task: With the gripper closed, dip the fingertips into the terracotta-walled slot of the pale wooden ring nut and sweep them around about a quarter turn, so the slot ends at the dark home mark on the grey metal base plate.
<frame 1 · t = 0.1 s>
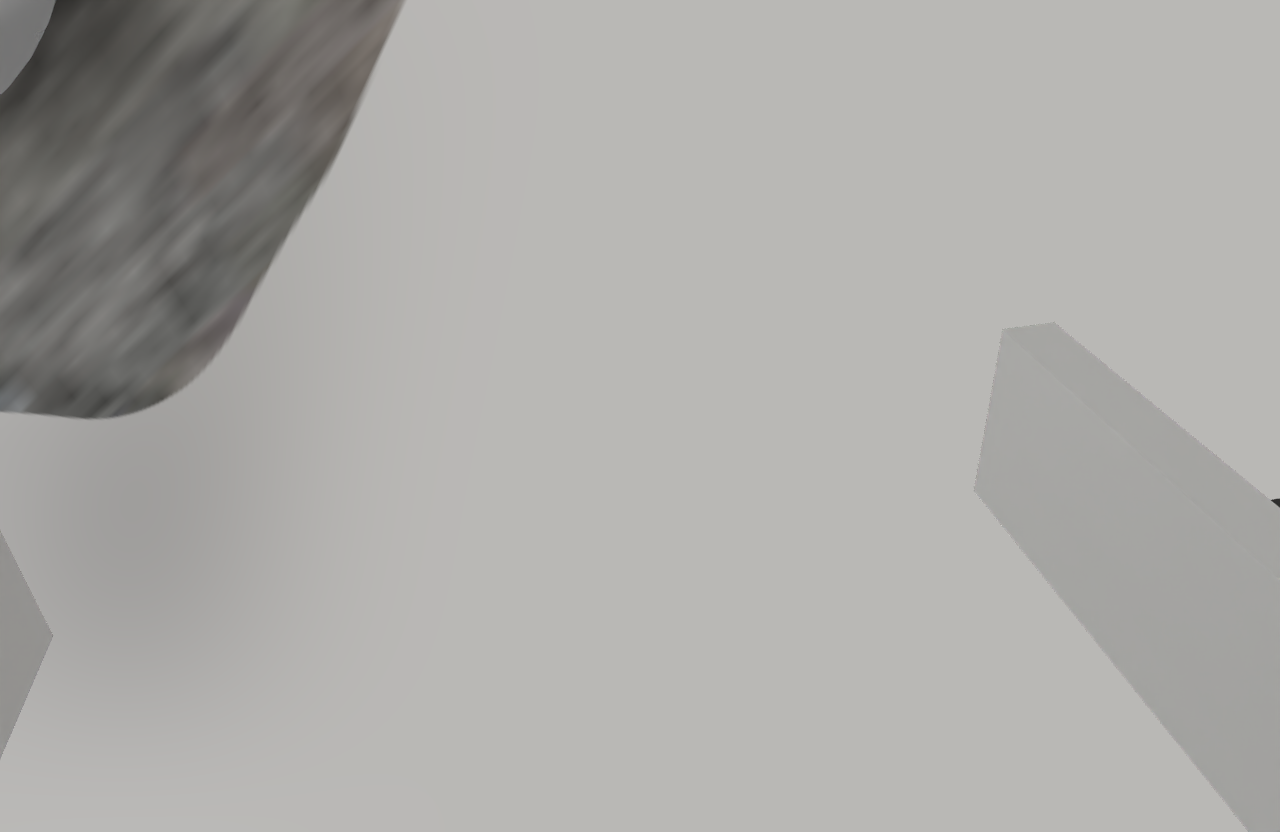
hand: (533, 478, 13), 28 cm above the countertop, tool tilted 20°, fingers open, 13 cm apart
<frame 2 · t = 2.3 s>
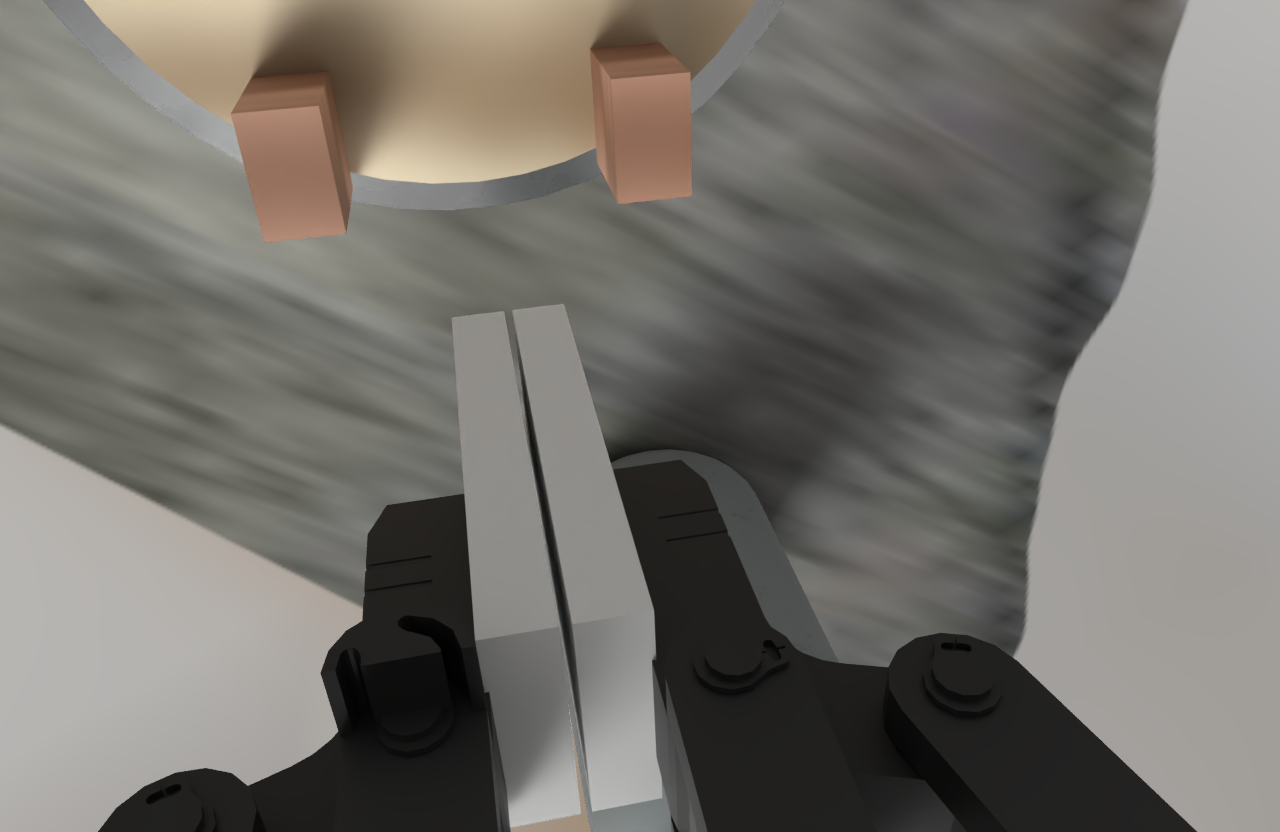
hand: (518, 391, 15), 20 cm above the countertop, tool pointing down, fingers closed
water bottle: (650, 533, 44), on the countertop
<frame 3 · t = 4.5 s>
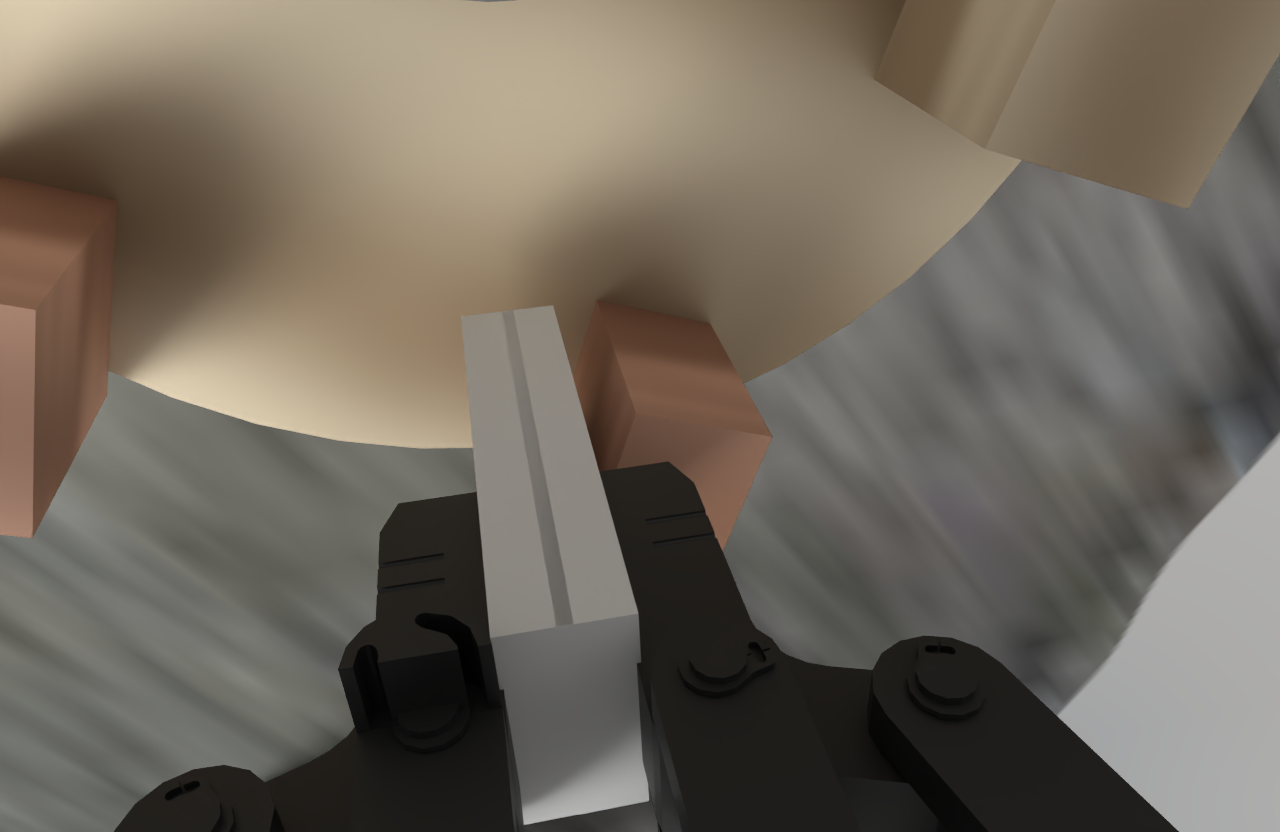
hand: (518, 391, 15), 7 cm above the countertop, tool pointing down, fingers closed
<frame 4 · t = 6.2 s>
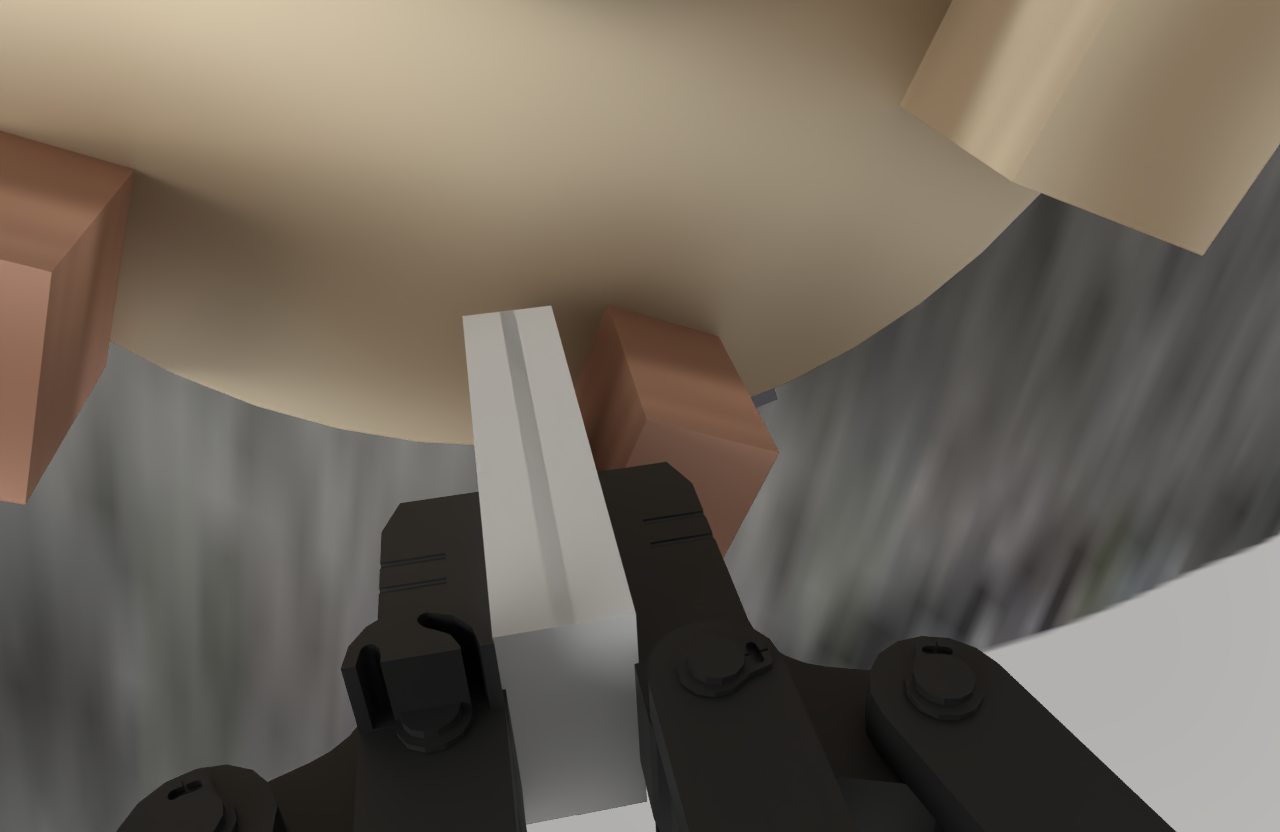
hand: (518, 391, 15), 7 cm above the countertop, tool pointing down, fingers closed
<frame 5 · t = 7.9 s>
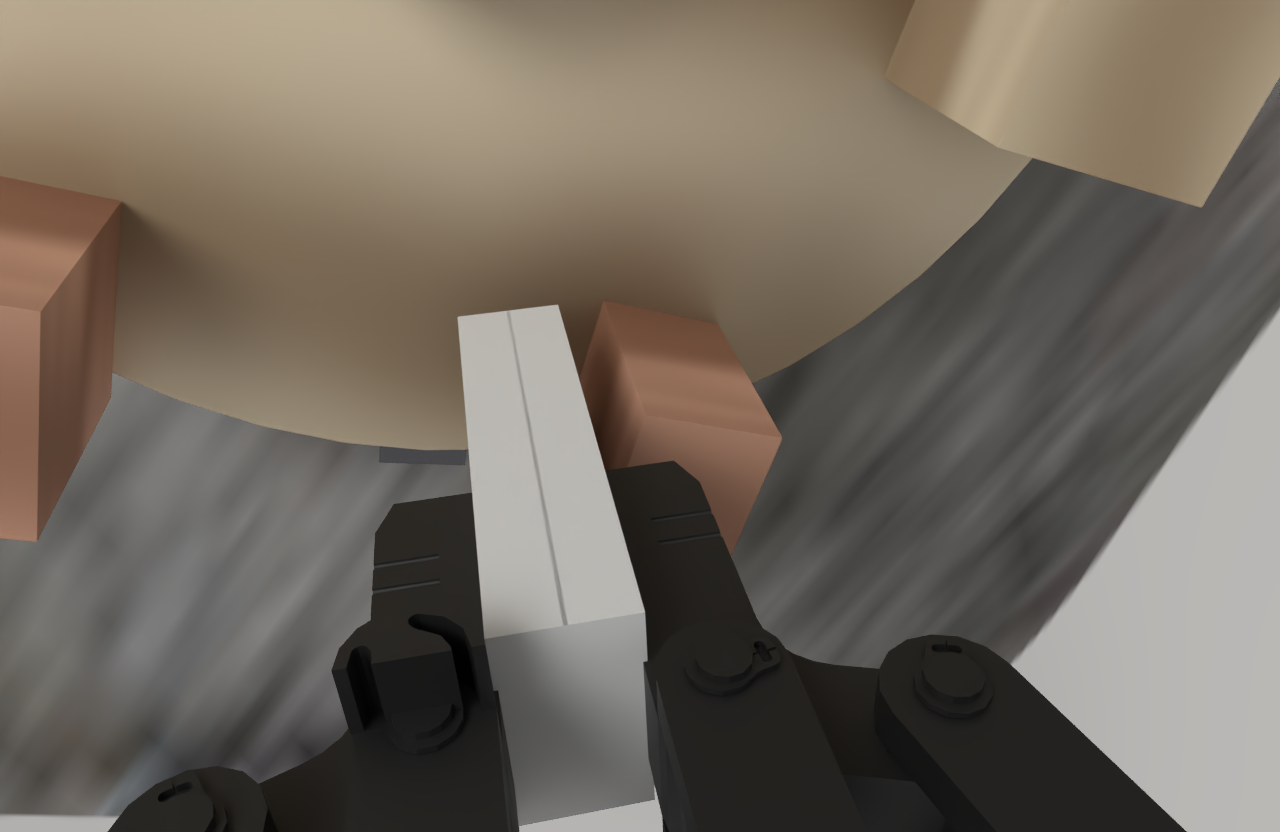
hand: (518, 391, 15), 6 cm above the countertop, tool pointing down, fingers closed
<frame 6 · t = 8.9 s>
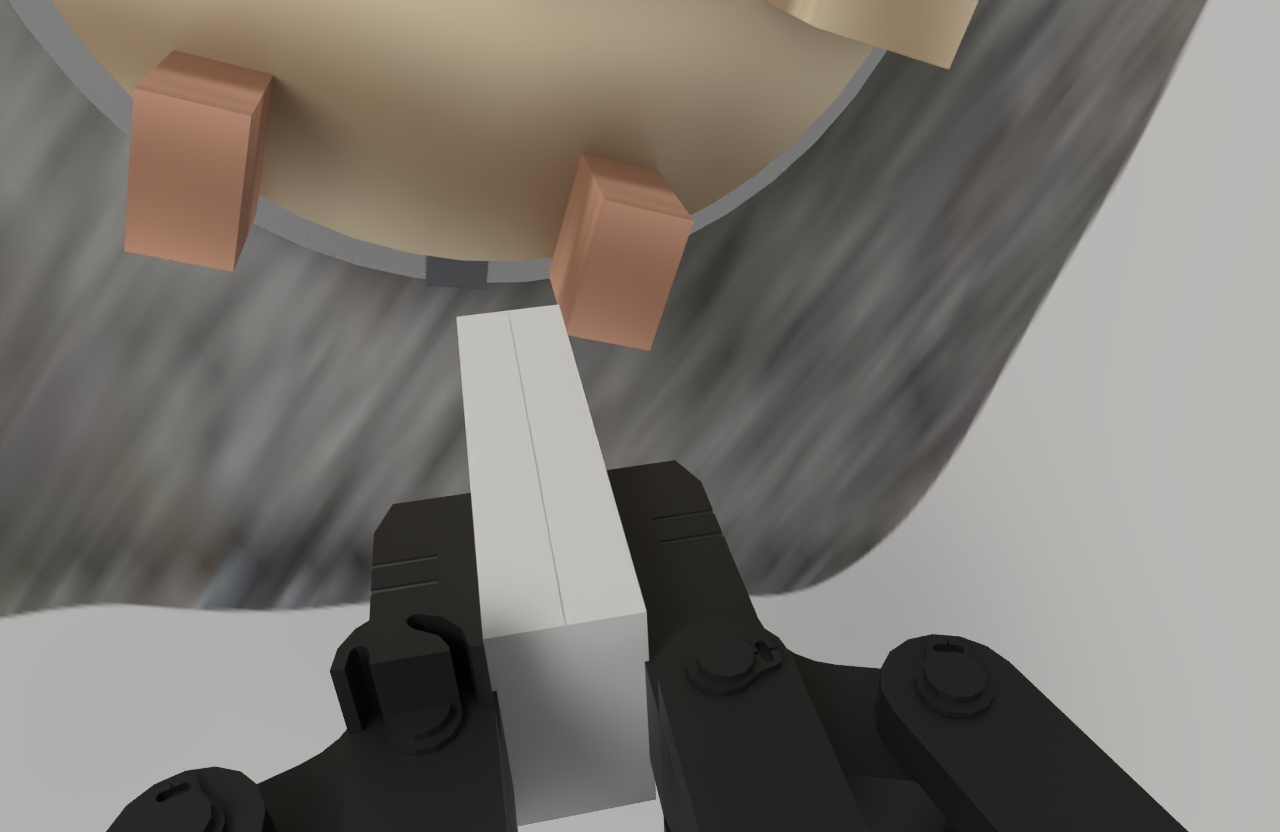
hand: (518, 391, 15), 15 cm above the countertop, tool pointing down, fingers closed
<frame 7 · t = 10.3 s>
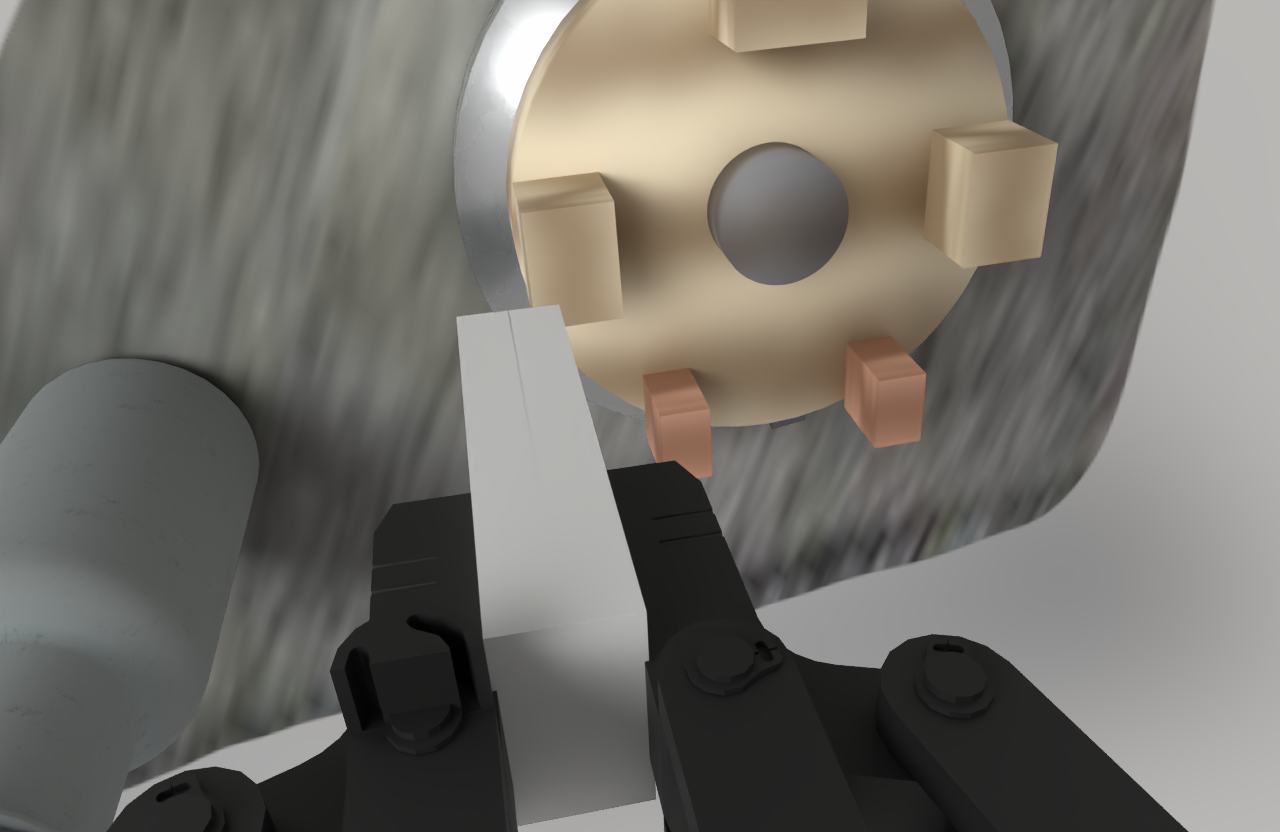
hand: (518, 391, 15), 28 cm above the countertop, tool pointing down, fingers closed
ring nut: (770, 208, 38), point 6 cm above the countertop, hinge at 82.3°
water bottle: (142, 446, 44), on the countertop
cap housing: (732, 167, 43), on the countertop
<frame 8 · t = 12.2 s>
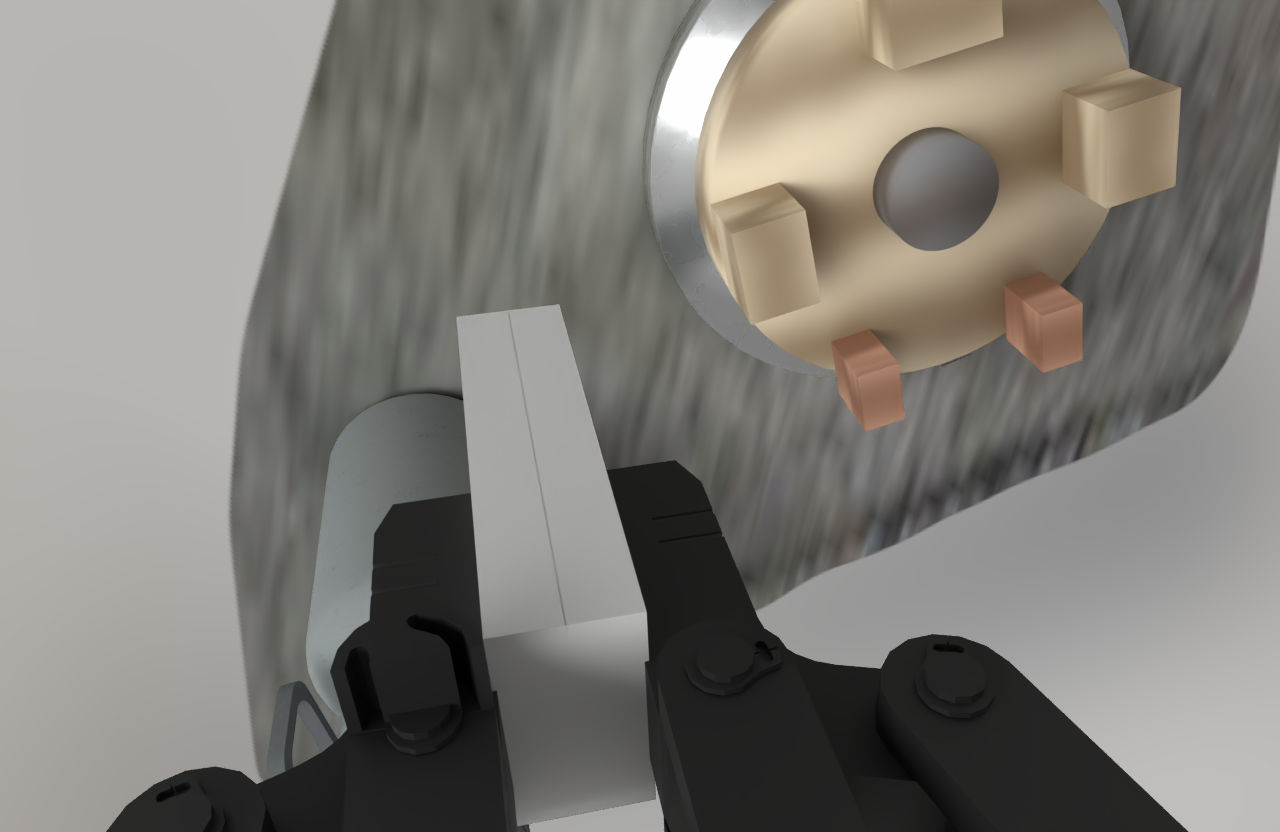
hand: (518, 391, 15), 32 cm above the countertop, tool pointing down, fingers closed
ring nut: (927, 184, 44), point 6 cm above the countertop, hinge at 82.3°
water bottle: (419, 462, 54), on the countertop
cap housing: (879, 147, 49), on the countertop
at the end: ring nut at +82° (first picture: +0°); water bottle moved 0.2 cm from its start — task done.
